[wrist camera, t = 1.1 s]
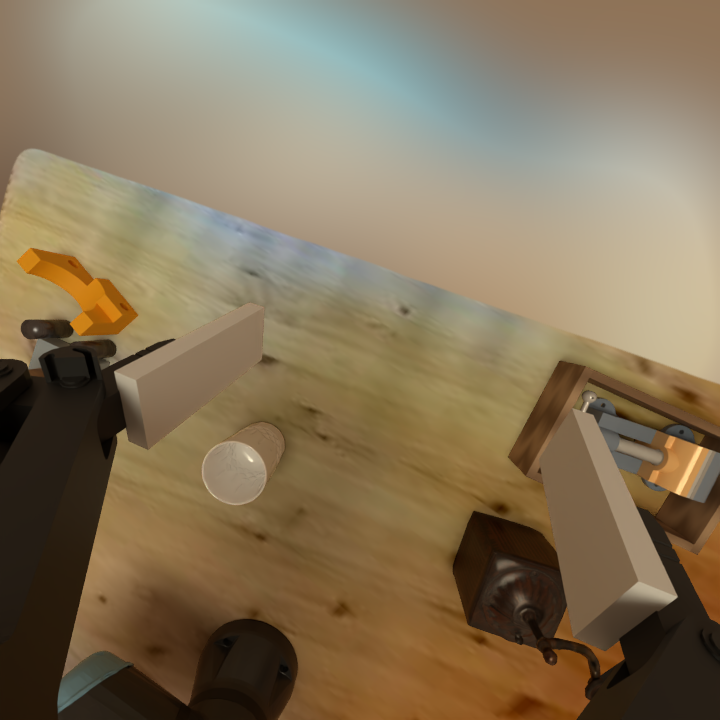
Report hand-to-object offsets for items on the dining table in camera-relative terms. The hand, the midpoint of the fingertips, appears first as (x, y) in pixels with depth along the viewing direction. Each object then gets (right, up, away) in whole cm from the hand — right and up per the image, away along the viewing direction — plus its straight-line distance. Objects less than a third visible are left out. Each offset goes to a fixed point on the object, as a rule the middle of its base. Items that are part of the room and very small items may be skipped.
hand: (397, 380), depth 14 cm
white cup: (-16, -11, +36) cm, 41 cm away
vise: (+34, -10, +33) cm, 48 cm away
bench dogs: (-42, +4, +36) cm, 55 cm away
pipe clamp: (-39, +11, +35) cm, 54 cm away
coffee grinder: (+21, -28, +36) cm, 50 cm away
